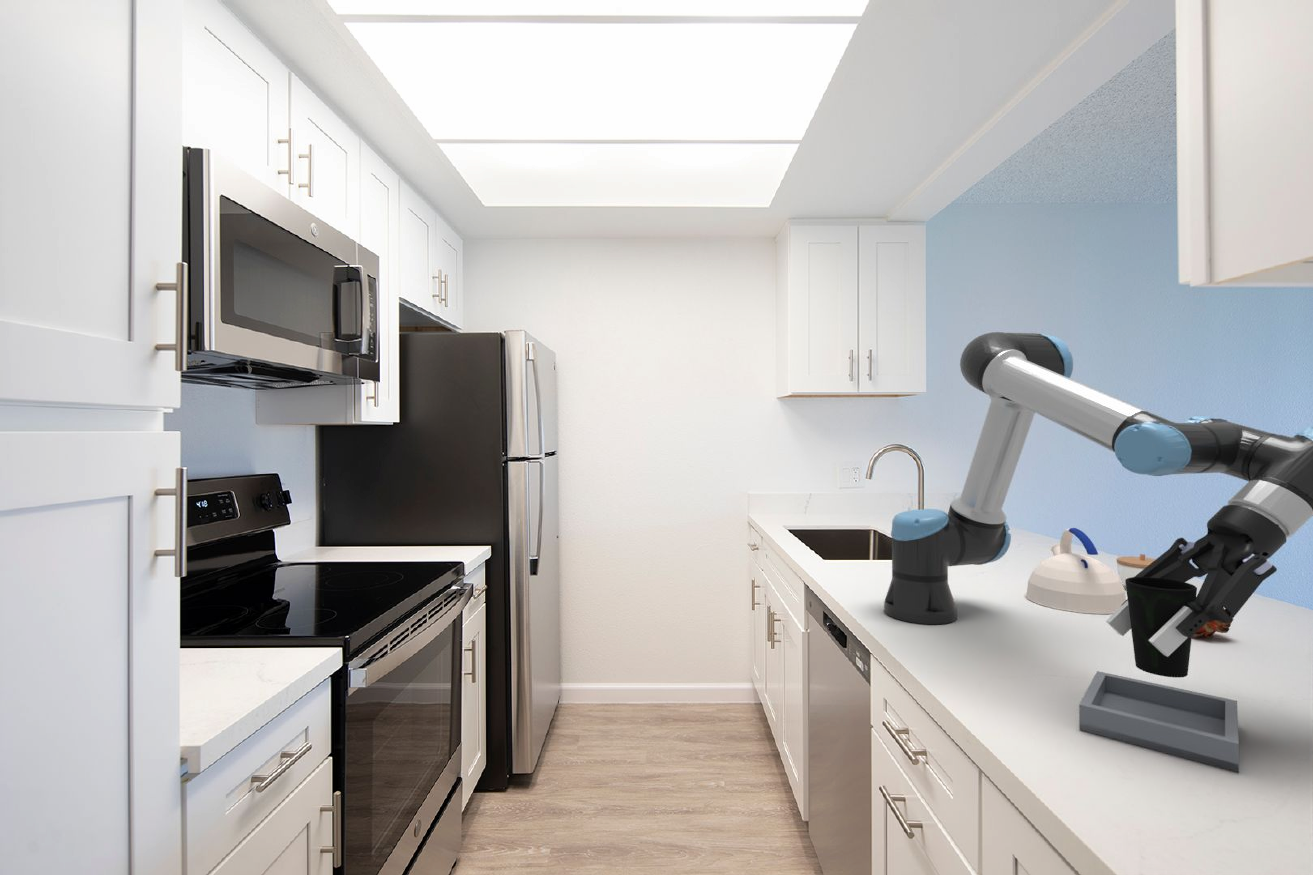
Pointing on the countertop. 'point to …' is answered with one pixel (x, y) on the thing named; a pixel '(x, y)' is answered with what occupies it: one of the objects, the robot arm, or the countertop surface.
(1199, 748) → the box
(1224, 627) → the dragon fruit
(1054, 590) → the kettle
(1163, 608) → the cup
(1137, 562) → the lidded jar
